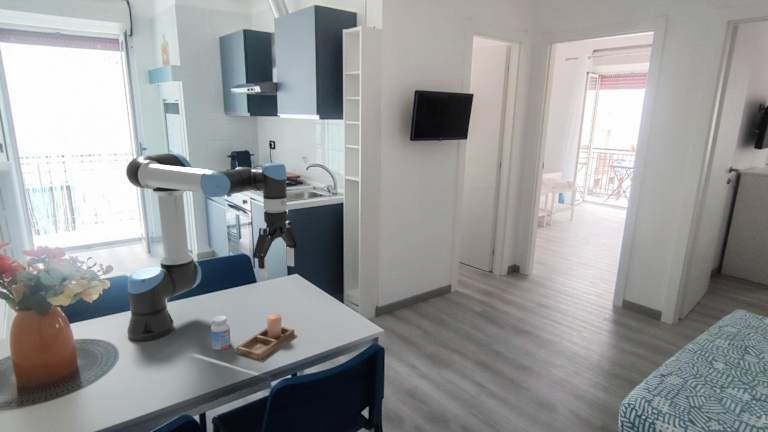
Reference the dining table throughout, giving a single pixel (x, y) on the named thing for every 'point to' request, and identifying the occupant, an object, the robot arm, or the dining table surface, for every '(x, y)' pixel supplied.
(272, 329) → the peach capsule shape
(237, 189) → the robot arm
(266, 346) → the rack
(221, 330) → the pill bottle
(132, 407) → the dining table surface
